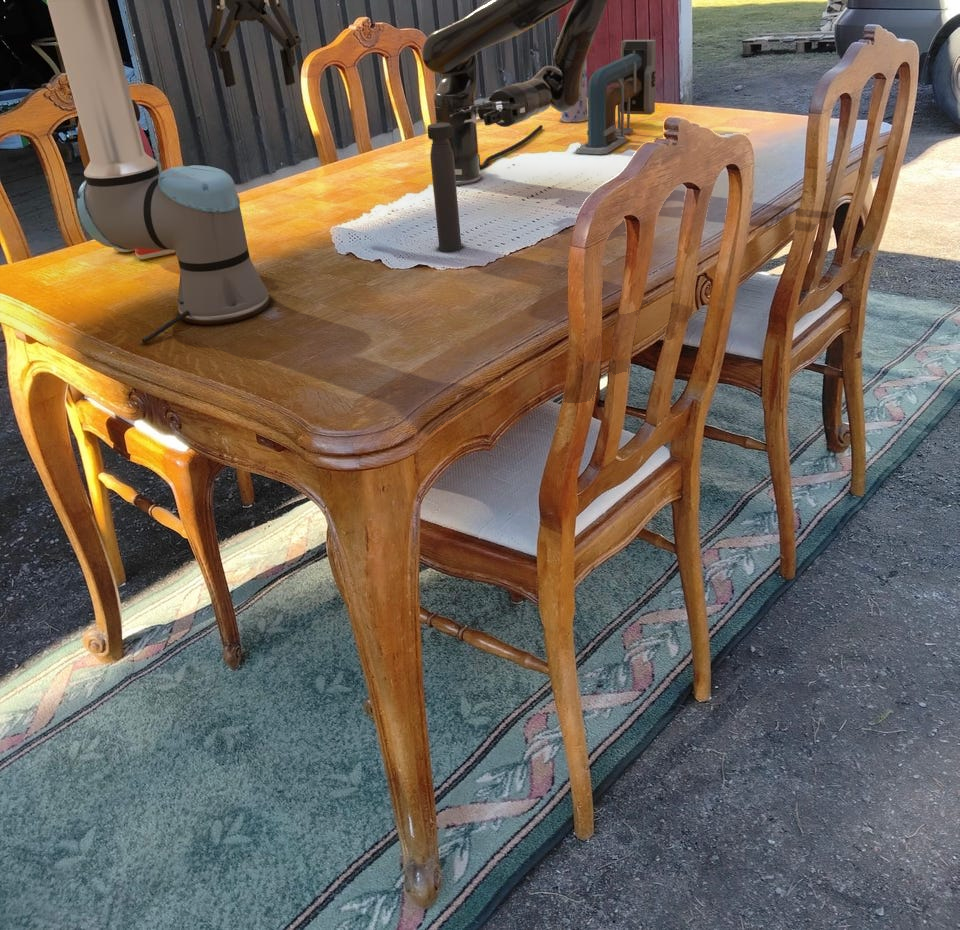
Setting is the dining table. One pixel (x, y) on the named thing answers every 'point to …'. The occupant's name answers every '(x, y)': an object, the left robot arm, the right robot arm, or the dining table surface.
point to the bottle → (445, 195)
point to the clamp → (620, 95)
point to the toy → (86, 159)
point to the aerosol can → (578, 103)
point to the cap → (439, 131)
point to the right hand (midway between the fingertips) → (468, 120)
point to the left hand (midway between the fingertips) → (260, 85)
